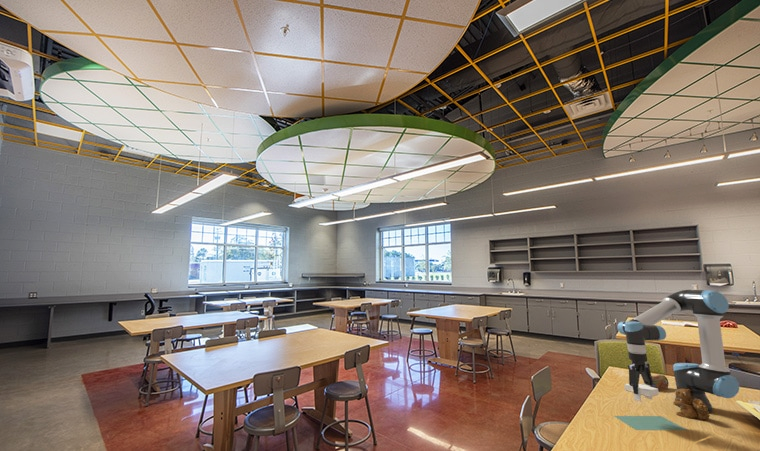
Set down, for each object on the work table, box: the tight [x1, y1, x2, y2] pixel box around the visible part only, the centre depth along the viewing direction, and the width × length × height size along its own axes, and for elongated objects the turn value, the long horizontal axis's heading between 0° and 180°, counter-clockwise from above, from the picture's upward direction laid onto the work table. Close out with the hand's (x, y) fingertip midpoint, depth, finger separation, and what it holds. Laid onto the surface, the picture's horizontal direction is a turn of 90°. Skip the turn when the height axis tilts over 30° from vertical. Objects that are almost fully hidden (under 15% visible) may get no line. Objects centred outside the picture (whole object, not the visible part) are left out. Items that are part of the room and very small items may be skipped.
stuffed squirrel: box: [672, 389, 711, 421], centre depth 166 cm, size 10×14×13 cm
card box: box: [623, 382, 660, 397], centre depth 162 cm, size 8×3×11 cm
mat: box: [613, 415, 688, 431], centre depth 159 cm, size 24×16×1 cm, turn 87°
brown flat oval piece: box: [650, 374, 669, 391], centre depth 207 cm, size 15×3×8 cm, turn 105°
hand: (643, 399), depth 161 cm, fingers closed on card box, 8 cm apart
